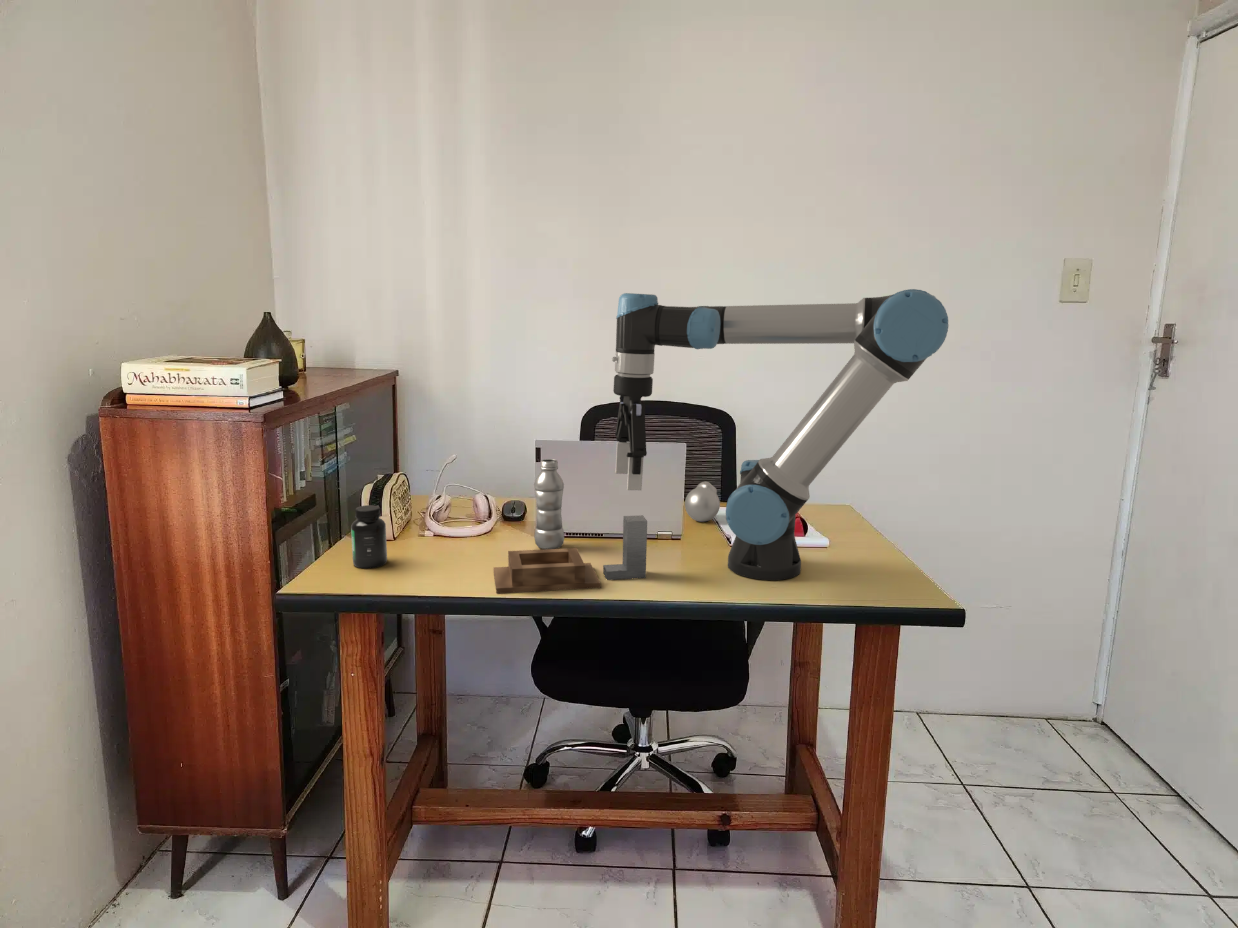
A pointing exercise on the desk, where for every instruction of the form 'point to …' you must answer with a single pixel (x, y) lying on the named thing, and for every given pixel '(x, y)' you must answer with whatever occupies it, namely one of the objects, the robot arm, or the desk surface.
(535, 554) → the well
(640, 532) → the bracket
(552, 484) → the plastic bottle
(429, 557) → the desk surface
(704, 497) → the silver pear shape
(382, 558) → the supplement bottle
